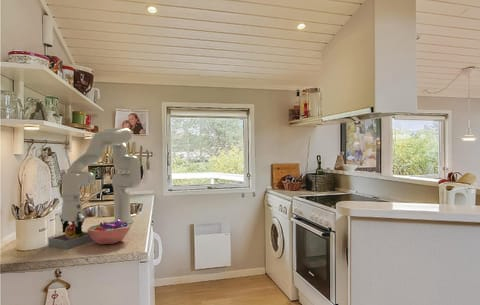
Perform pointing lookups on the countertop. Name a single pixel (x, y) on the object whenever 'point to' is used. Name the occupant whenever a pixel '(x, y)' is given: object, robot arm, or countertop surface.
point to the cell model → (109, 232)
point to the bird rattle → (72, 231)
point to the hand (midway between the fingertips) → (72, 232)
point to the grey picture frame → (68, 241)
